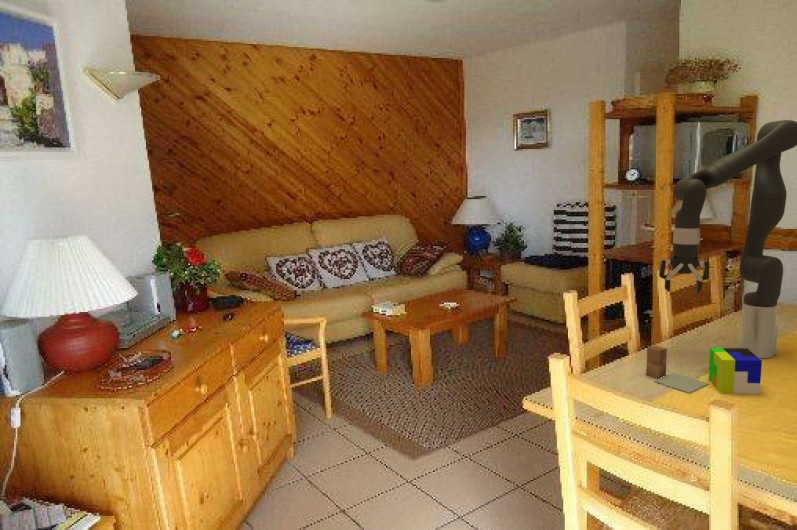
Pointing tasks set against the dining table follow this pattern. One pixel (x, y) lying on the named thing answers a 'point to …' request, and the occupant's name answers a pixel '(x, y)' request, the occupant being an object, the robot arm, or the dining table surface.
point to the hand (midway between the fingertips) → (682, 291)
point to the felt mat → (681, 382)
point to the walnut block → (656, 361)
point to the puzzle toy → (735, 370)
